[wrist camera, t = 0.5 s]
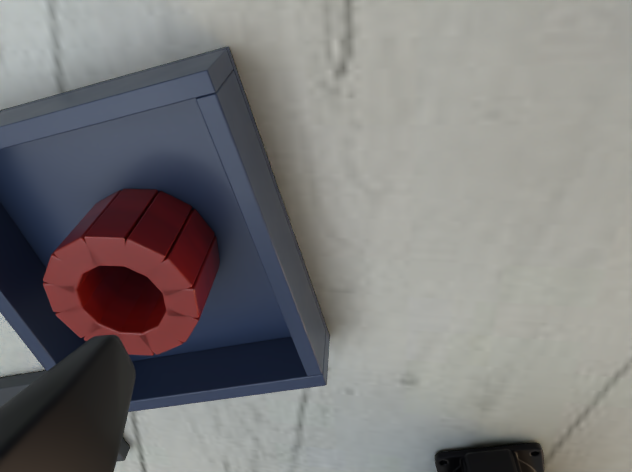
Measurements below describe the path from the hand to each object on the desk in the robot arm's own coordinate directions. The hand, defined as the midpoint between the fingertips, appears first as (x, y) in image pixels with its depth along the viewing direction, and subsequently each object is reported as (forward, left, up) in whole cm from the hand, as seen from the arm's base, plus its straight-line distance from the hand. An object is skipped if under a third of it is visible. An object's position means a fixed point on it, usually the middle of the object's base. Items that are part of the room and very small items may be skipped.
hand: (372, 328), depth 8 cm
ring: (-5, +12, -13) cm, 18 cm away
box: (-5, +11, -14) cm, 19 cm away
